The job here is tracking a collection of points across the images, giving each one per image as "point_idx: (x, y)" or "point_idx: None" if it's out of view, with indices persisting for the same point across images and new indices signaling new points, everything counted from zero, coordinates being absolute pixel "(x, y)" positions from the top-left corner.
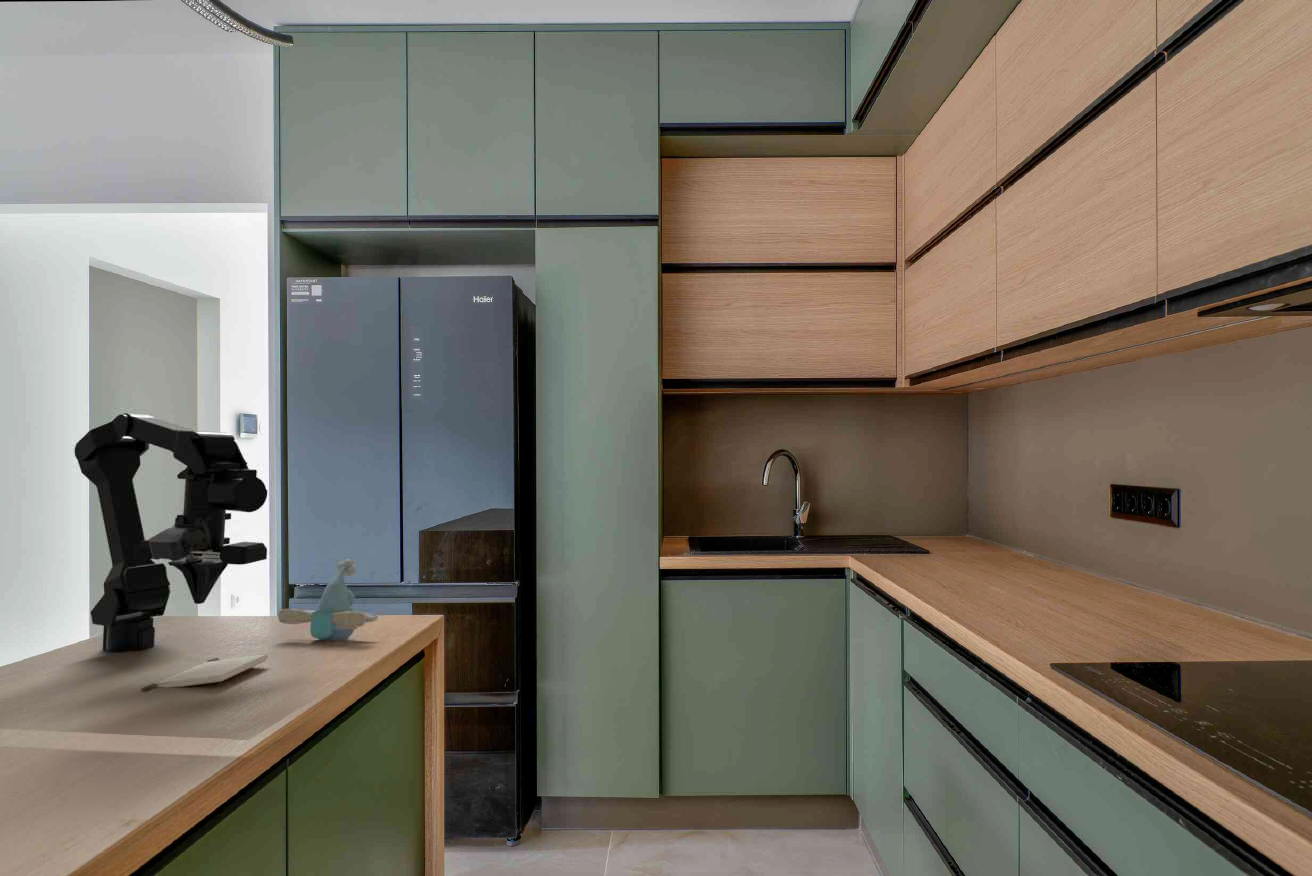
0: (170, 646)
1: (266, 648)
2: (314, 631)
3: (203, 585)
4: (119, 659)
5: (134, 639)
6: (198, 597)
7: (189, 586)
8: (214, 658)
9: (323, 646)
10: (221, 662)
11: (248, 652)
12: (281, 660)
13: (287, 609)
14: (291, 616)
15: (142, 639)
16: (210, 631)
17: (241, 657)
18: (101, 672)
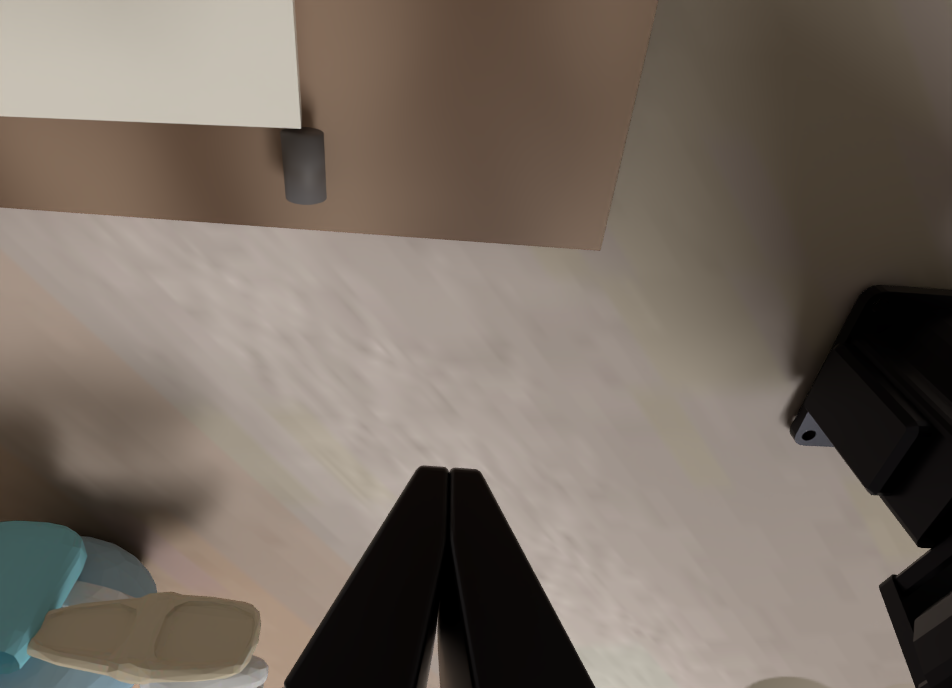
0: (772, 486)
1: (330, 483)
2: (35, 548)
3: (288, 684)
4: None
5: (922, 386)
6: (417, 518)
7: (559, 659)
8: (299, 187)
9: (93, 515)
10: (93, 21)
11: (369, 435)
12: (100, 340)
13: (184, 675)
14: (174, 635)
15: (879, 397)
16: (704, 627)
17: (7, 106)
18: (944, 123)
